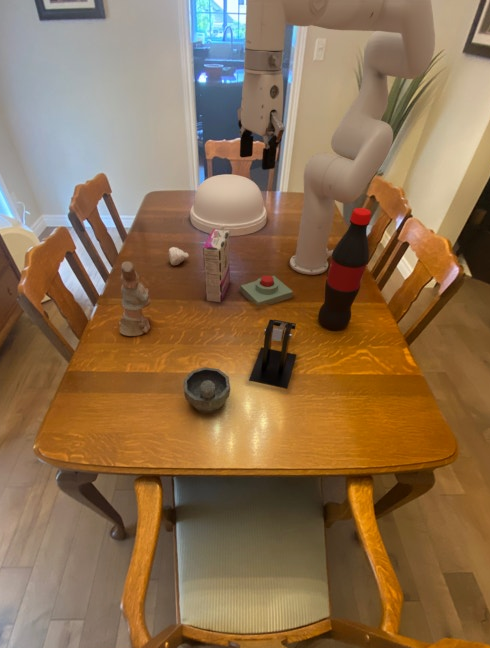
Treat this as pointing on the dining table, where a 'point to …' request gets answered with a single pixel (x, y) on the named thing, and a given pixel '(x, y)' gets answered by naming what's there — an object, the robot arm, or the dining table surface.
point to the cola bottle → (346, 273)
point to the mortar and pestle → (206, 389)
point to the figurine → (133, 302)
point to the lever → (280, 329)
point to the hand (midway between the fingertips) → (256, 162)
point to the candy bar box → (216, 265)
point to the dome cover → (228, 205)
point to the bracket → (274, 360)
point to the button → (267, 281)
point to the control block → (266, 292)
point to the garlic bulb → (177, 256)
